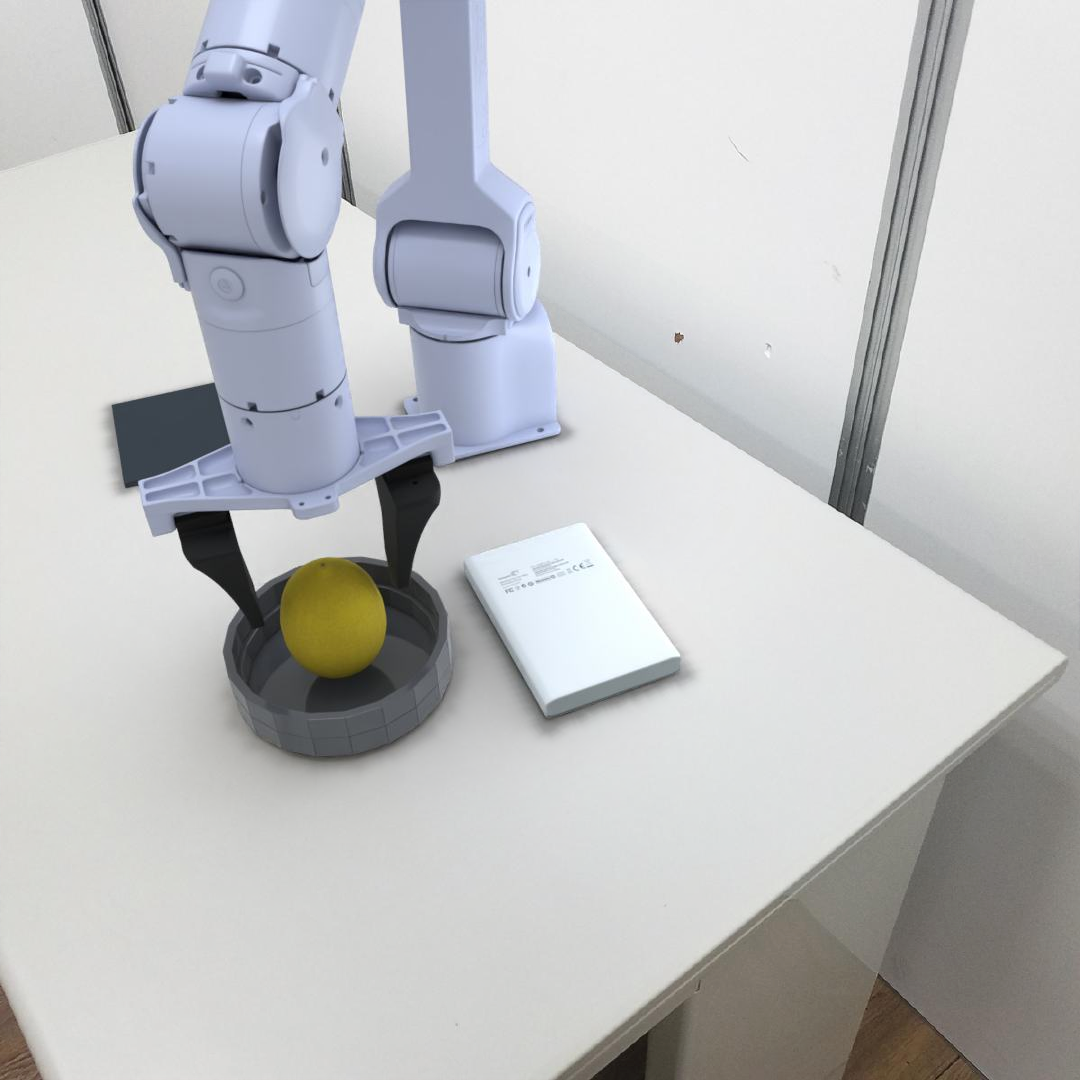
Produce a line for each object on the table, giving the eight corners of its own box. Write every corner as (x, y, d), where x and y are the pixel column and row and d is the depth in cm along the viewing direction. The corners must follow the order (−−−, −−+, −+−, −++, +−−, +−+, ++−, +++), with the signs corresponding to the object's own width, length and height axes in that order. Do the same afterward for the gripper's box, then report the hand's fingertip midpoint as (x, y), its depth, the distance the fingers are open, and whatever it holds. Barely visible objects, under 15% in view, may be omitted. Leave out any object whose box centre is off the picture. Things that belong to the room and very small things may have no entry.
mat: (247, 379, 85) (246, 375, 84) (272, 453, 78) (271, 448, 77) (112, 409, 82) (111, 404, 82) (125, 488, 75) (123, 483, 75)
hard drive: (545, 722, 59) (464, 575, 68) (680, 673, 62) (585, 537, 70) (544, 702, 58) (462, 556, 67) (682, 653, 61) (585, 518, 69)
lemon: (376, 714, 60) (356, 609, 54) (279, 699, 60) (250, 595, 55) (406, 639, 64) (390, 535, 58) (314, 627, 64) (290, 523, 59)
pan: (418, 577, 68) (412, 535, 66) (480, 720, 60) (477, 678, 57) (221, 631, 65) (208, 589, 63) (257, 790, 57) (244, 748, 54)
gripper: (120, 466, 44) (198, 689, 53) (465, 386, 48) (484, 608, 57) (106, 376, 49) (180, 594, 58) (420, 310, 53) (443, 524, 62)
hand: (328, 595), depth 58 cm, fingers open, 7 cm apart
